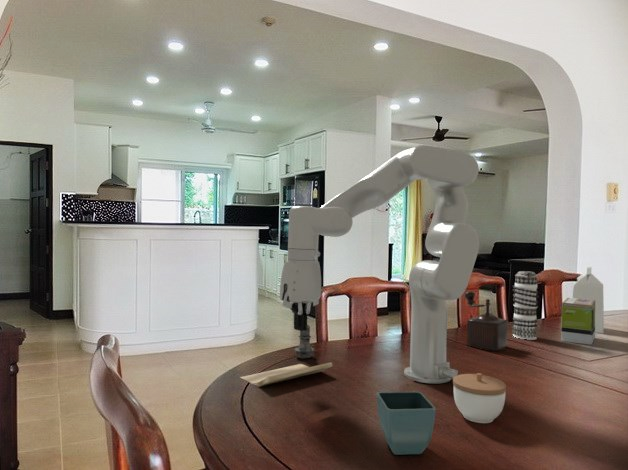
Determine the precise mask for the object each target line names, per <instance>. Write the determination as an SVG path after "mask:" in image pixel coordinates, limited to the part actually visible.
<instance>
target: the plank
mask: <svg viewBox="0 0 628 470" xmlns="http://www.w3.org/2000/svg"><path fill="white" fill-rule="evenodd" d="M333 366H334V365H333V362H331V361H330V362H326V363H322V364H318V365H312V366H308V368H304V369H300V370H295V371H291V372H287V373H283V374H278V375H274V376H270V377H268V378H266V379H264V380H262V381H260V382H258V383H256V384H253V385H255V386H256V387H258V388H260V387H264V386H268V385H273V384H276V383H280V382H284V381H288V380H292V379H296V378H300V377H305V376H309V375H312V374H317V373H321V372H323V371H325V370H327V369H329V368H331V367H333Z"/></svg>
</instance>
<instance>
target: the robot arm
mask: <svg viewBox="0 0 628 470" xmlns="http://www.w3.org/2000/svg"><path fill="white" fill-rule="evenodd" d="M479 170H480V169H479V163H478V161H477V160H476V159H475V157H474V156H472V154H470V153H468V152H464V151H459V150H456V149H455V150H454V149H448V148H443V147H440V146H433V145H425V144H422V145H421V144H419V145H416V146H413V147H412V146H411V147H409V148H407V149H403V150H402V151H400V152H398V153H397V154H395V155H394V156H392V157H391V158H390V159H389V160H387V161H386V162H384V163H383V164H381V166H379V167H378V168H376V169H374V170H373V171H372V172H370V173H369V174H368V175H366V176H365V177H363V178H362V179H360V180H359V181H357V182H356V183H354V184H353V185H352V186H350V187H349V188H347V189H346V190H344V191H342V192H341V193H339V194H338V195H336V196H334V197H333V198H332V199H330V200H329V201H328V202H326V203H325V204H323V205H321V207H315V206H309V205H308V206H307V205H306V206H305V205H296V206H295V205H294V206H291V208H290V209H289V213H288V234H287V235H288V237H287V238H288V239H287V240H288V241H287V260H286V261H284V264H283V266H282V271H281V278H280V286H279V287H280V288H279V299H280V300H281V301H283V302H282V307H284V308H285V309H286V308H287V309H289V310H291V313H292V314H294V315H293V329H294V330H296V331H299V332H300V331H303V330H304V331H305V330H307V325H308V315H309V314H310V312H311V310H312V308H313V307H315V306H317V305H319V303H320V298H321V296H322V295H321V293H322V275H321V274H322V273H321V266H320V261H319V257H320V256H321V252H320V251H319V239H320V238H319V237H320V235H321V236H323V237H331V238H332V237H335V238H339V237H342V236H343V237H344V235H346V234H348V233H349V232H350V231H351V229H352V227H353V219H354V218H355V217H356V216H358V215H360V214H362V213H364V212H366V211H371V210H373V209H376V208H379V207H380V206H383V205H384V204H387V203H388V202H389V201H391V200H392V198H395V196H397V195H398V194H399V193H400V192H402V191H403V190H405V189H406V188H407V187H409V186H410V185H411V184H412V183H414V182H416V181H418V180H425V179H427V183H428V184H429V185H430V186H431V188H432V190H433V192H434V195H435V200H436V201H435V208H434V212H433V214H432V218H431V222H430V225H429V227H428V231H427V234H426V238H425V241H424V242H425V244H424V245H425V249H426V250H427V252H428V253H429V255H432V256H433V257H436V258H437V257H438V258H439V261H438V260H430V259H427V260H421V261H418V262H417V263H416V264H414V265H413V267H412V268H411V270H410V271H409V276H408V285H409V286H408V287H409V291H410V301H411V305H410V307H411V312H410V313H411V315H410V316H411V317H410V348H409V349H410V351H409V353H410V354H409V366H407V367H405V368H404V371H403V376H405V377H406V378H407V379H411V380H413V381H415V382H417V383H423V384H433V385H434V384H445V383H449V382H450V381H452V380H453V378H454V377H455V376H457V375H459V371H458V369H454V368H451V363H450V361H447V336H448V334H447V333H448V307H447V301H448V302H449V301H455V300H458V299H459V298H461V297H462V295H463V294H465V293H466V292H465V291H466V290H467V287H468V285H469V282H470V279H471V276H472V273H473V271H474V266H475V263H476V260H477V257H478V253H479V249H480V239H479V235H478V233H477V231H476V229H475V228H474V227H473V226H472V225H471V224H468V223H465V222H466V219H467V215H468V210H469V202H468V197H467V195H466V192H465V190H464V188H463V187H466V186H469V185H471V184H472V183H474V182H475V180H476V179H477V178H478V176H479V172H480V171H479Z"/></svg>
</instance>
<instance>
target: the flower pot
mask: <svg viewBox="0 0 628 470" xmlns="http://www.w3.org/2000/svg"><path fill="white" fill-rule="evenodd" d="M376 400H377V401H376V404H377V413H378V421H379V425H380V428H381V432H382V434H383V437H384V438H385V441H386V443H387V444H388V446H389V448H390V449H391V450H390V451H391V452H392V453H393V455H401V456H402V455H421V454H423V452H425V450H426V449H427V447H428V445H429V444H430V442H431V439H432V435H433V430H434V424H435V417H436V411H437V409H436V407H435V406H434V404H433V403H432V402H431V401H430V400H429V399H428V398H427V396H425V395H424V393H422V392H421V391H377V392H376Z"/></svg>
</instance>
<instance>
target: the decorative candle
mask: <svg viewBox="0 0 628 470" xmlns="http://www.w3.org/2000/svg"><path fill="white" fill-rule="evenodd" d="M514 276H515V281H514V285H512V288H513V289H512V292H513V294H512V297H513V298H512V301H513V302H514V303H512V305H513V306H514V308H513V309H514V311H513V312H514V313H513V317H512V320H513V321H512V324H513V326H512V330H511V332H512V335H513V336H514V337H513V336H512V337H513V338H515V337H516V338H515V339H518V338H520V339H519V340H524V339H527V340H526V341H534V340H537V336H538V333H537V332H538V329H537V327H538V324H537V322H538V320H537V308H538V307H539V305H538V303H539V301H538V300H537V299H539V297H540V296H539V294H540V291H538V290H537V289H538V278H539V276H538V275H537V274H536V273H535V272H534V271H527V270H526V271H525V270H522V271H521V270H520V271H518V272H517V273H516V274H515V275H514Z"/></svg>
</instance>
